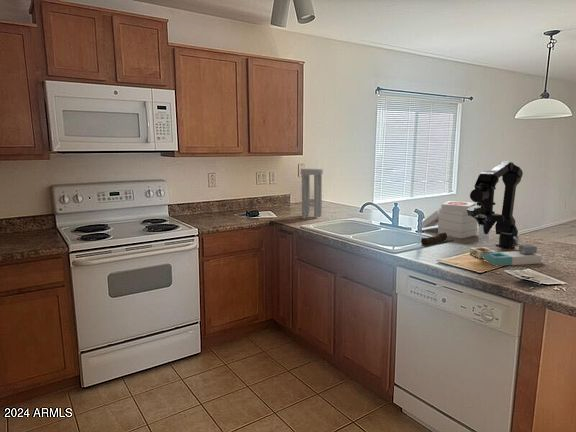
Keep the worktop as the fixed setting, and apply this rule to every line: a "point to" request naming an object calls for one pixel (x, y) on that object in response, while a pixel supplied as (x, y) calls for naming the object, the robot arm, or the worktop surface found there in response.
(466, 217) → the pizza boxes
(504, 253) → the dock
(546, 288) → the worktop surface
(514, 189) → the robot arm
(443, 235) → the hand tool
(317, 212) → the stool
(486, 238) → the pin
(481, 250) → the frame
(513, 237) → the white blue elongated body
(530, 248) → the gray rectangular block
